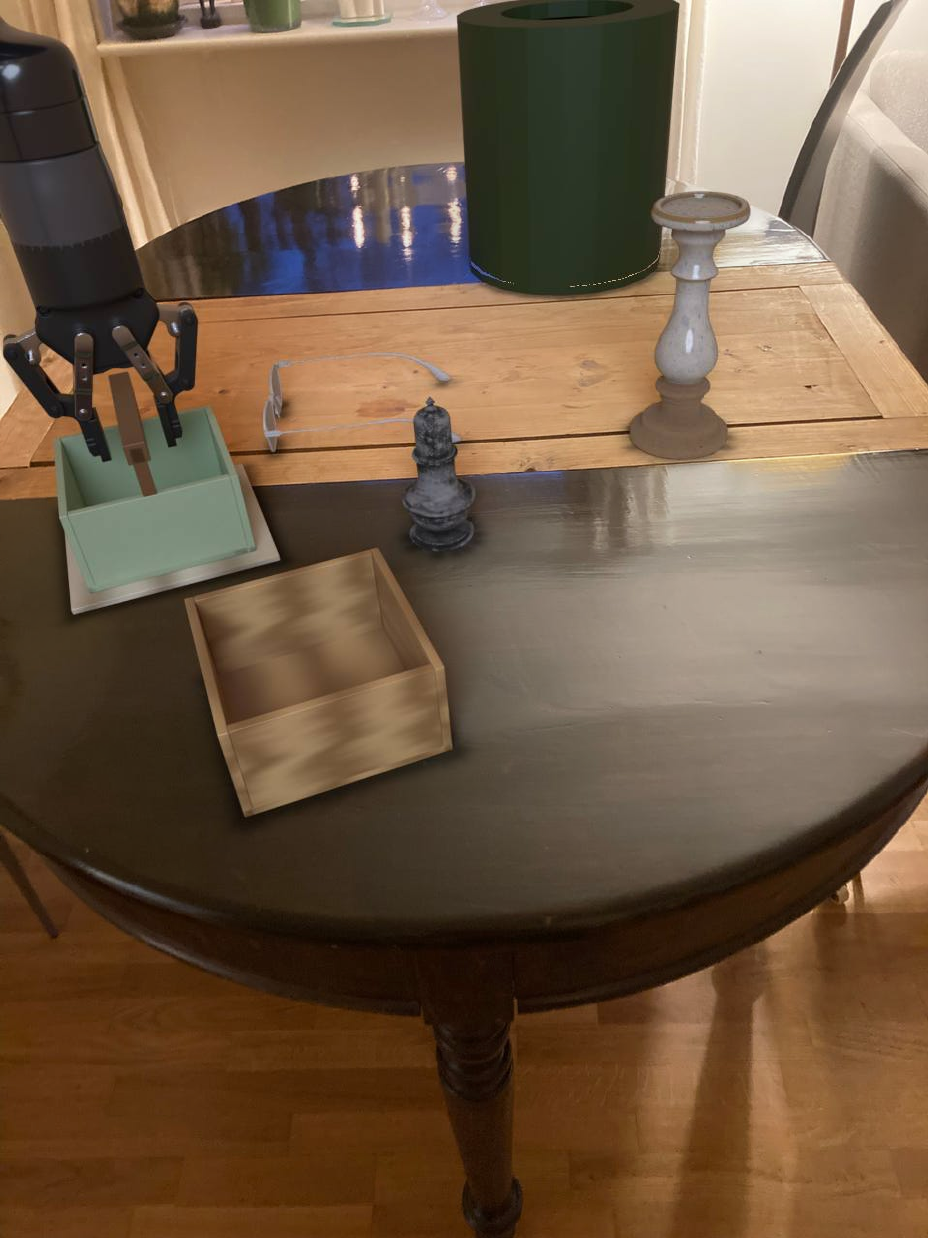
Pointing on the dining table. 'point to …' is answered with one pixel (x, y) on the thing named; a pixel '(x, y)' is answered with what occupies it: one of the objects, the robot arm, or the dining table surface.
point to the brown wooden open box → (318, 679)
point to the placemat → (263, 555)
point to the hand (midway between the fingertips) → (139, 448)
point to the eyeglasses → (272, 432)
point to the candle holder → (688, 329)
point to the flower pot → (566, 139)
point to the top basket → (150, 496)
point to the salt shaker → (437, 485)
